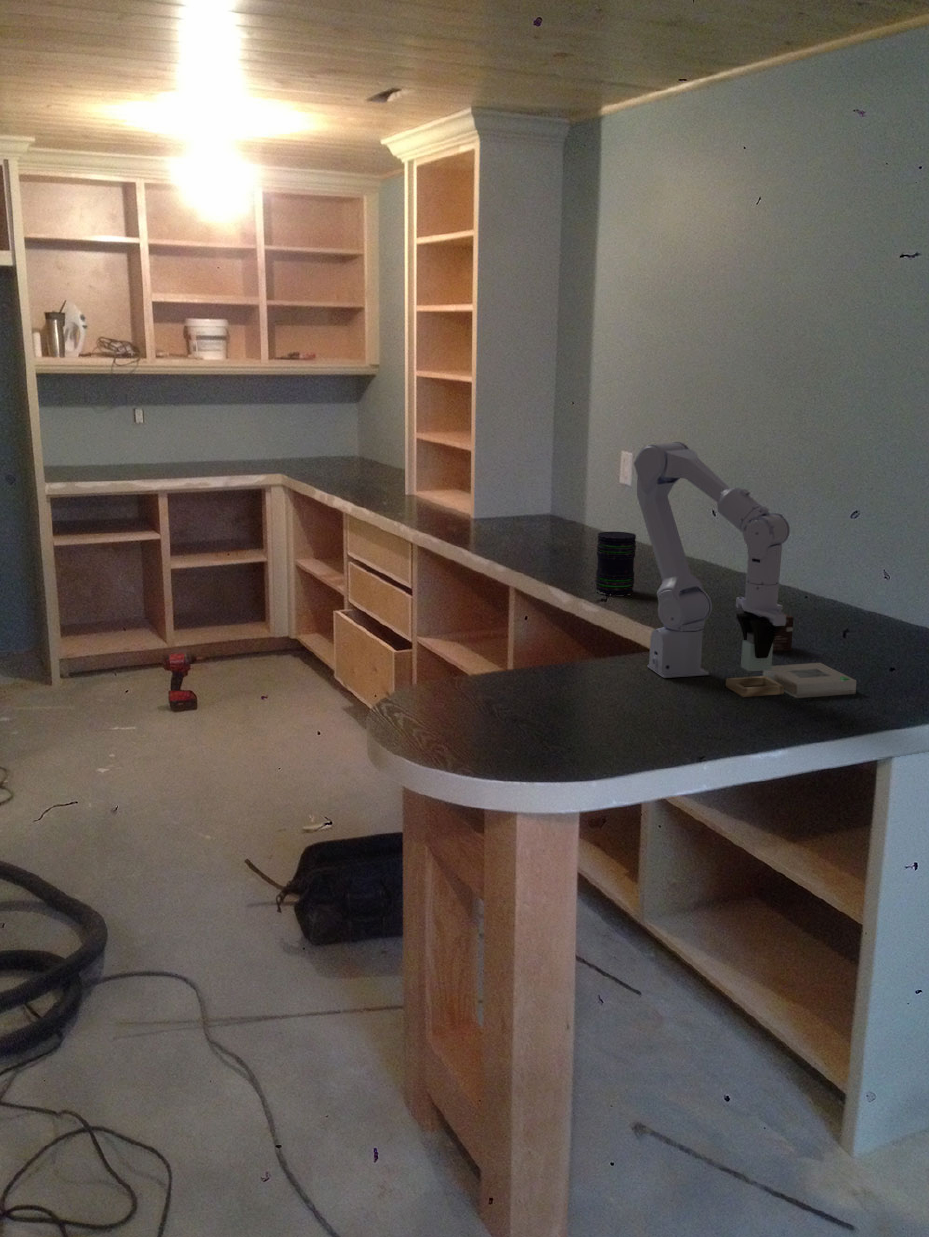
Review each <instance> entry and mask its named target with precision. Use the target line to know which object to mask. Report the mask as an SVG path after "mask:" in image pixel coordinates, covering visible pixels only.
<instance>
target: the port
mask: <svg viewBox="0 0 929 1237" xmlns="http://www.w3.org/2000/svg"><path fill="white" fill-rule="evenodd" d="M762 672H763V673H762V676H767V677H769V678H771V679H772V680H774V681H776V682H778V683H779V684H781V685H783V686H784V693H786V694H789V696H792V697H794V698H795V699H802V698H804V699H805V698H817V697H829V696H832V697H833V696H842V695H843V696H844V695H855V694H856V690H857V680H856V679H855V678H852V677H851V676H848V675H846V674H844V673H842V672H840V671H839V670H836V669H834V668H832V667H830V666H827V665H825V664H824V663H821V662H813V663H811V662H809V663H795V664H785V665H784V664H782V665H781V664H780V665H771V670H763V671H762Z"/></svg>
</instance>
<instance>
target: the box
mask: <svg viewBox="0 0 929 1237" xmlns="http://www.w3.org/2000/svg"><path fill="white" fill-rule="evenodd" d="M782 613H783V614H785V615H786V624H785V626H783V627H782V628H781V629H780V630H779V632H778V633H777V635H776V637H775V639H774V641H773V653H776V652H778V653H779V652H790V651H792V642H793V632H794V631H793V629H794V616H792V615H790V614H787V613H785V612H782Z"/></svg>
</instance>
